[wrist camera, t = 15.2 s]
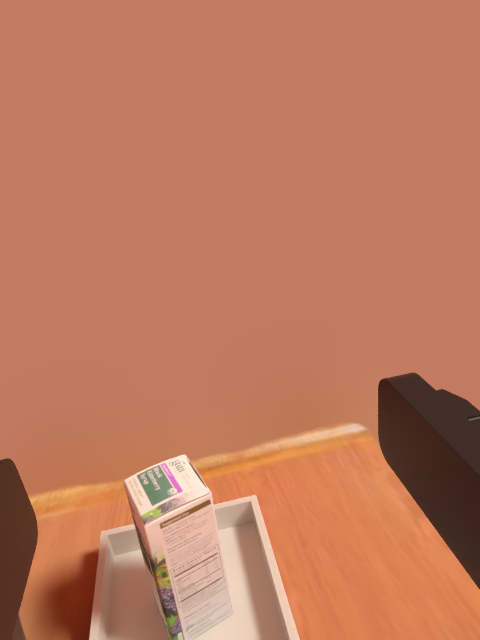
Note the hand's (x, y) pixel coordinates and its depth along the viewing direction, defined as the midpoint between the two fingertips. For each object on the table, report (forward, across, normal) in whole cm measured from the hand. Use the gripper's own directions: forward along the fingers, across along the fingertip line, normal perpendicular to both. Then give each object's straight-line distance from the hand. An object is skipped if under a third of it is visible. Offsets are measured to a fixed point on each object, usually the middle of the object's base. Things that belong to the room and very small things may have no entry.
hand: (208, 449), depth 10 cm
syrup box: (+21, +4, +34) cm, 40 cm away
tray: (+21, +4, +34) cm, 40 cm away
